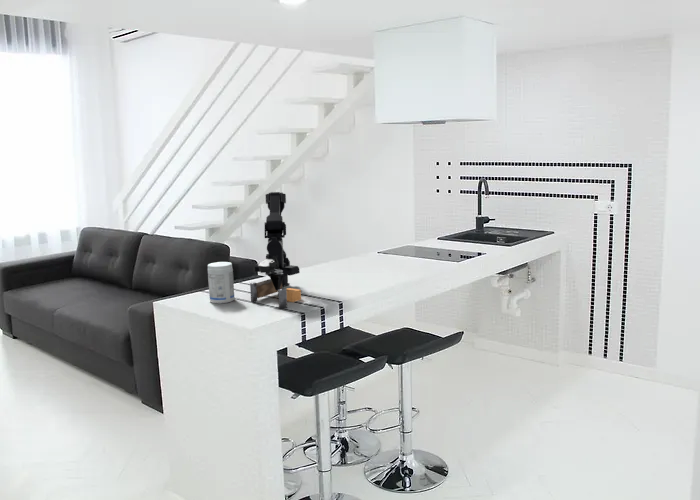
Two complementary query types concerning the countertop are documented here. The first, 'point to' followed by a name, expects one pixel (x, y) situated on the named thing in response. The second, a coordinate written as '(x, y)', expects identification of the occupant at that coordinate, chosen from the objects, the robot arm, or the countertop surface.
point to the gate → (265, 288)
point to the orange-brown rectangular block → (293, 294)
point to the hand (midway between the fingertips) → (277, 290)
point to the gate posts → (281, 293)
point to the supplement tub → (221, 282)
